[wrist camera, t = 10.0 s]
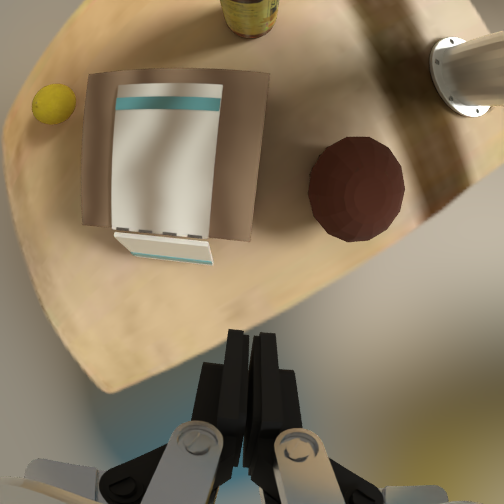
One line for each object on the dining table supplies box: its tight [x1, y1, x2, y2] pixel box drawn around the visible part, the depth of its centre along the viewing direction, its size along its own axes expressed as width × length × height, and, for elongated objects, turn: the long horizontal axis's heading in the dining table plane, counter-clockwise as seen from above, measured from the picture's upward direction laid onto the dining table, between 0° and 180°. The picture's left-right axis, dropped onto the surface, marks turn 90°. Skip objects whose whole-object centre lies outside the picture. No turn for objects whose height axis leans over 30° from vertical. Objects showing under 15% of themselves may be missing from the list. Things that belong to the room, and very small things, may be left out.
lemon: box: [32, 84, 76, 125], centre depth 29 cm, size 6×6×8 cm
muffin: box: [308, 137, 405, 242], centre depth 32 cm, size 12×11×10 cm
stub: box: [114, 232, 213, 266], centre depth 33 cm, size 10×8×1 cm
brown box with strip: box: [81, 68, 270, 242], centre depth 30 cm, size 18×16×11 cm
